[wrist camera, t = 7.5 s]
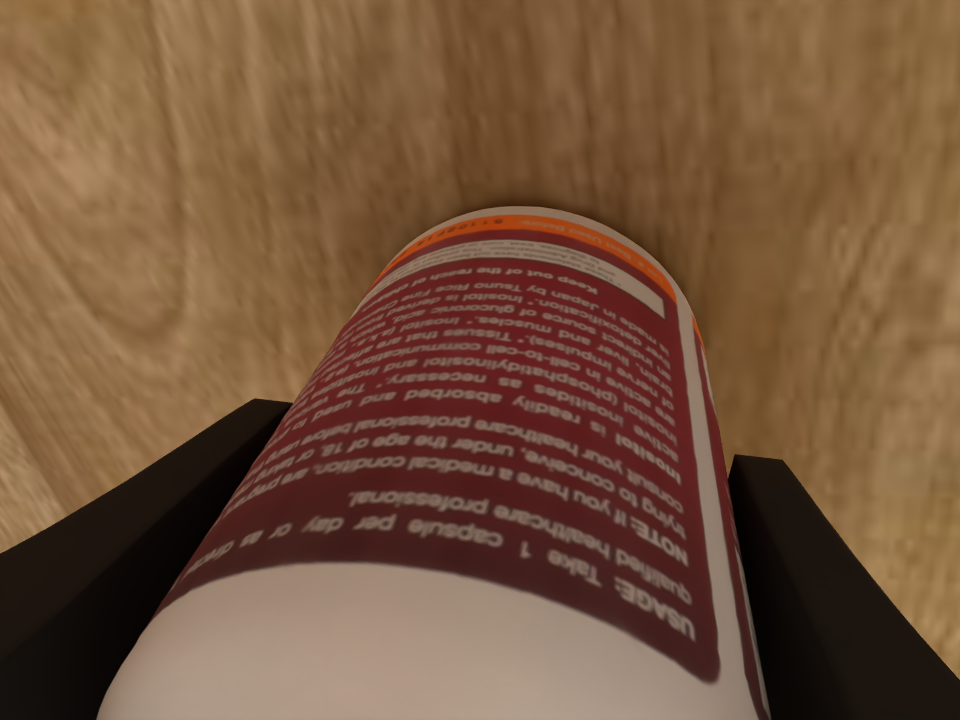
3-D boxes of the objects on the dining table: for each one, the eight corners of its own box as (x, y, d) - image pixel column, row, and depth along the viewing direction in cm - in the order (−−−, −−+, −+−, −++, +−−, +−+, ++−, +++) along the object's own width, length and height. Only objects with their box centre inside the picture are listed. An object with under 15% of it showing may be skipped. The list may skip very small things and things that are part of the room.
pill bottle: (304, 320, 13) (-416, 1220, 4) (559, 112, 10) (34, 1631, 1) (508, 520, 15) (329, 1432, 6) (771, 394, 12) (1190, 1782, 3)
